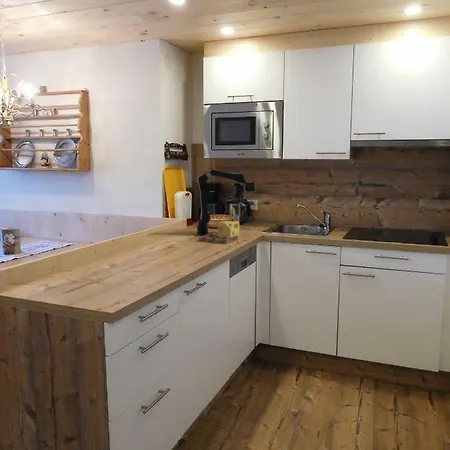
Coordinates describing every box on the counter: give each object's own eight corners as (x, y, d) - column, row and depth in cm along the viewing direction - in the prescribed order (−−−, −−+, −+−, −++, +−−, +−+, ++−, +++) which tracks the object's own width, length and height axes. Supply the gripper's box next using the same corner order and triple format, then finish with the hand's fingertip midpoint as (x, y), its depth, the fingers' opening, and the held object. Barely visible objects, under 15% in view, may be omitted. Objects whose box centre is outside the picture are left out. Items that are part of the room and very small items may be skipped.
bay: (199, 241, 276) (198, 237, 276) (210, 237, 288) (210, 233, 288) (227, 243, 266) (226, 239, 266) (237, 239, 278) (237, 235, 278)
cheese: (230, 239, 281) (230, 223, 279) (217, 237, 288) (216, 222, 286) (239, 236, 289) (239, 221, 288) (226, 235, 296) (226, 220, 294)
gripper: (221, 193, 295) (221, 216, 298) (246, 194, 286) (246, 217, 289) (229, 191, 305) (229, 214, 307) (253, 192, 296) (253, 215, 298)
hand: (239, 215), depth 300 cm, fingers open, 3 cm apart
